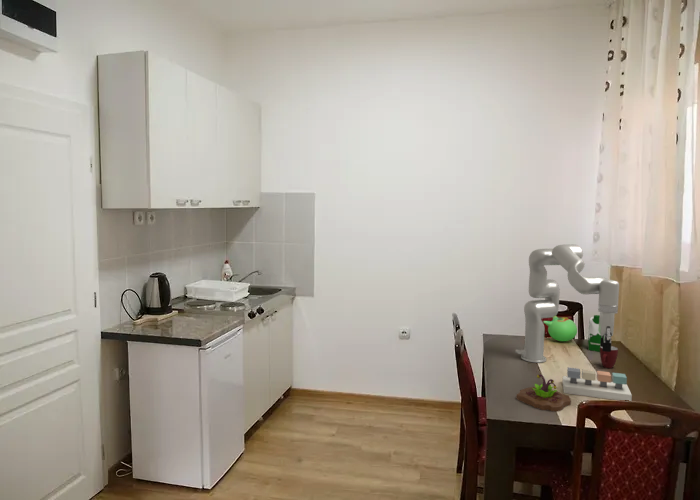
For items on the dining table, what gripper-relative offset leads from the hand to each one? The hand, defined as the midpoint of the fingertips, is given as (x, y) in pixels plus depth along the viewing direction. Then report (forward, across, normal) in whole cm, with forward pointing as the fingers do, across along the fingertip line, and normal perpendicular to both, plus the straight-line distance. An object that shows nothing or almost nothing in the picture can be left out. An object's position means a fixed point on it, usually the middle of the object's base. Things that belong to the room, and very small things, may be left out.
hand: (605, 348), depth 216 cm
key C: (+17, 0, 0) cm, 17 cm away
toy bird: (+20, -83, -14) cm, 86 cm away
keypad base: (+20, 0, -3) cm, 20 cm away
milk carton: (+20, -70, +4) cm, 73 cm away
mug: (+20, -38, +6) cm, 43 cm away
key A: (+17, 0, -12) cm, 21 cm away
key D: (+17, 0, +6) cm, 18 cm away
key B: (+17, 0, -6) cm, 18 cm away
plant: (+20, +19, -24) cm, 37 cm away
